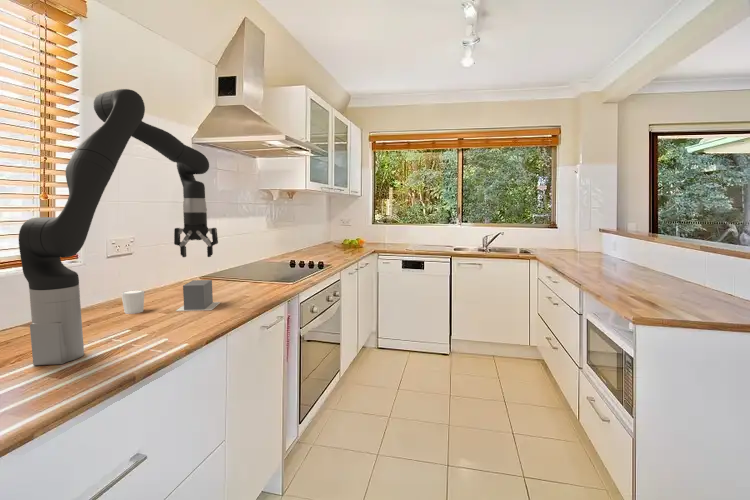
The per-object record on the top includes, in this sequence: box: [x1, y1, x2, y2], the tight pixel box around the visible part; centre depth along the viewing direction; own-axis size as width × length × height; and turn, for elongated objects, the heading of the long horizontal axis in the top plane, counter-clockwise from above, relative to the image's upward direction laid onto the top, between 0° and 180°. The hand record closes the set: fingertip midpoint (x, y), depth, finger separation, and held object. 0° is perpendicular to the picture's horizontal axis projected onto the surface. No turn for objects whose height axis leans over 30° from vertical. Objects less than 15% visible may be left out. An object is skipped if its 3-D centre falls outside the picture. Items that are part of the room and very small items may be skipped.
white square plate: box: [175, 301, 221, 312], centre depth 149 cm, size 12×12×1 cm
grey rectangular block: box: [182, 279, 214, 311], centre depth 149 cm, size 11×7×9 cm, turn 7°
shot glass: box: [121, 289, 145, 315], centre depth 141 cm, size 7×7×7 cm
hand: (197, 256), depth 147 cm, fingers open, 8 cm apart
